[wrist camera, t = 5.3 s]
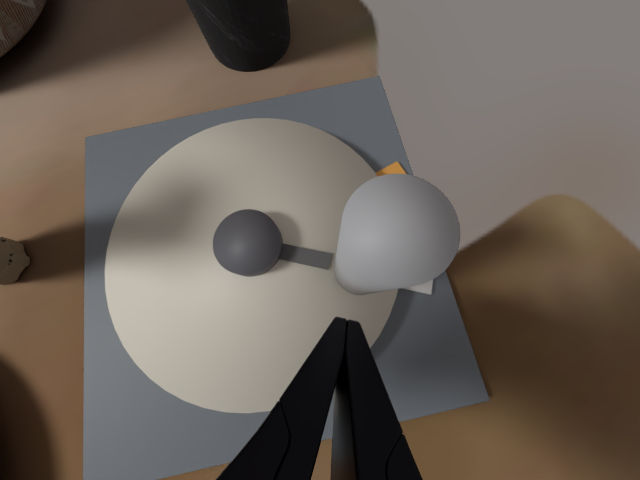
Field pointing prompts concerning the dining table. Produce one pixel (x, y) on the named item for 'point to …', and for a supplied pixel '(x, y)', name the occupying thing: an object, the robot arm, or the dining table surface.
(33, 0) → the planter
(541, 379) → the dining table surface
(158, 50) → the dining table surface
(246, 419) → the board
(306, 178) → the dial
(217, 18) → the travel mug
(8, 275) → the handle
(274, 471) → the robot arm
